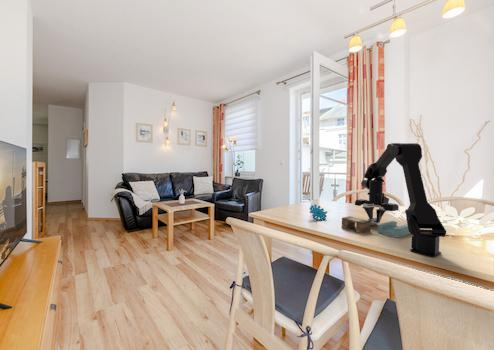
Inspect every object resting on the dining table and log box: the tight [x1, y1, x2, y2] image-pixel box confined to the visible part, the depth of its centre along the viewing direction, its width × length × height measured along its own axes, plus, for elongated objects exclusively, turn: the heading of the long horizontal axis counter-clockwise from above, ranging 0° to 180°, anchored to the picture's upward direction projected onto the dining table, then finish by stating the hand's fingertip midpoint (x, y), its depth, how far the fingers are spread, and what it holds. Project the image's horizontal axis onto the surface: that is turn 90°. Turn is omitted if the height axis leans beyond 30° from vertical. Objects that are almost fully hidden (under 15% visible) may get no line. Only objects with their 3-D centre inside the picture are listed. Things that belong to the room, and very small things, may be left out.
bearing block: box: [341, 215, 371, 234], centre depth 103 cm, size 10×6×5 cm, turn 30°
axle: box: [366, 217, 381, 226], centre depth 109 cm, size 12×3×3 cm, turn 120°
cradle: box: [377, 220, 411, 238], centre depth 98 cm, size 8×12×4 cm, turn 120°
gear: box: [309, 204, 328, 222], centre depth 123 cm, size 11×6×10 cm
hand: (374, 222), depth 111 cm, fingers closed on axle, 3 cm apart
